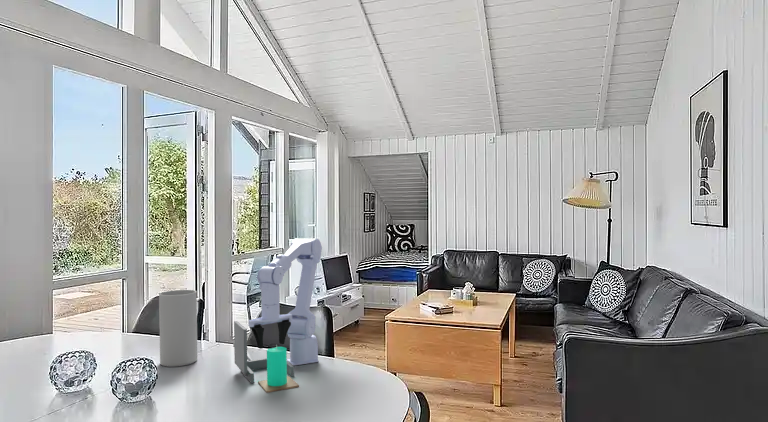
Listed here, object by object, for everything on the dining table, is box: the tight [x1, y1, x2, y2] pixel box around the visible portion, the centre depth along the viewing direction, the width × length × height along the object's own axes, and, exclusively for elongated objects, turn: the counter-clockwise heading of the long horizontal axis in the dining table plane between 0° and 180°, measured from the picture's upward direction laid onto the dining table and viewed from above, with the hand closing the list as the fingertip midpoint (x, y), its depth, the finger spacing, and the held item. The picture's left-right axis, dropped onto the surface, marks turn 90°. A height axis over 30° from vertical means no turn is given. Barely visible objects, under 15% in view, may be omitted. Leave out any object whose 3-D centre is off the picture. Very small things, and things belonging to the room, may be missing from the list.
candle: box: [266, 344, 288, 386], centre depth 160 cm, size 6×6×12 cm
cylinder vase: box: [158, 289, 198, 368], centre depth 186 cm, size 12×12×25 cm
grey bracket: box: [232, 320, 295, 384], centre depth 171 cm, size 16×15×17 cm
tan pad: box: [257, 375, 300, 394], centre depth 160 cm, size 10×10×1 cm
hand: (271, 345), depth 167 cm, fingers open, 7 cm apart
